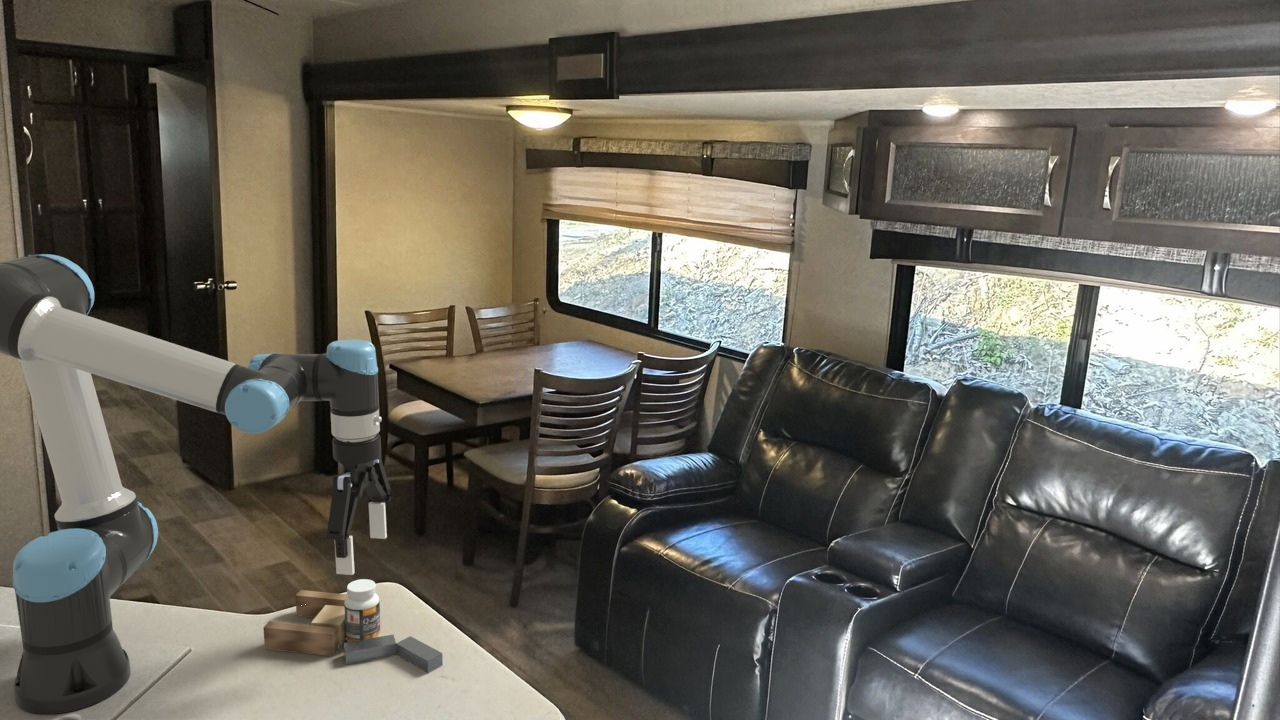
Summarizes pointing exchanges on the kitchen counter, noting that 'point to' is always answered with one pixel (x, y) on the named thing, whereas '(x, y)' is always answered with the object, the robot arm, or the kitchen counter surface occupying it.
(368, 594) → the pill bottle
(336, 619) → the block
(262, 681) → the kitchen counter surface
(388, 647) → the v block
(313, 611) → the channel
